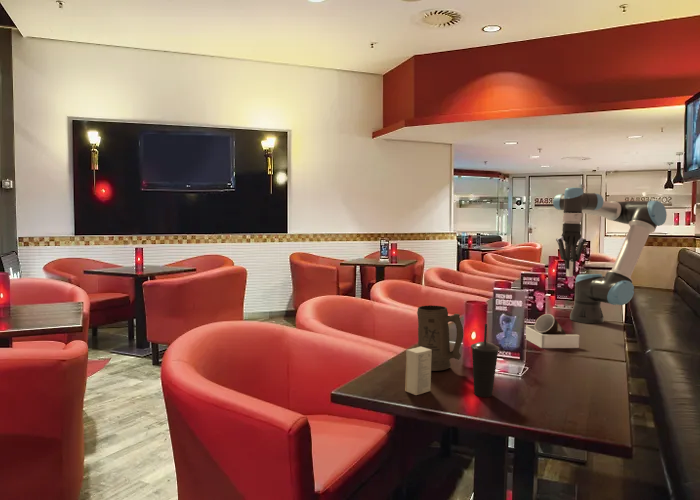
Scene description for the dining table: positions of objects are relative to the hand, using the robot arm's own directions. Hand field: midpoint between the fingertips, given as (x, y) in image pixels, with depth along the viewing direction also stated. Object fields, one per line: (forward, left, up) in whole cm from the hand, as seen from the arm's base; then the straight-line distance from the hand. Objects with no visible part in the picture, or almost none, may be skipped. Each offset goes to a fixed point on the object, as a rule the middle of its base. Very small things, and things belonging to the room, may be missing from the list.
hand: (569, 276), depth 230 cm
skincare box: (+85, +77, -25) cm, 117 cm away
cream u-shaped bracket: (+18, +21, -24) cm, 37 cm away
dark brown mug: (+16, +22, -23) cm, 36 cm away
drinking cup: (+67, +80, -25) cm, 107 cm away
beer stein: (+73, +55, -25) cm, 95 cm away
